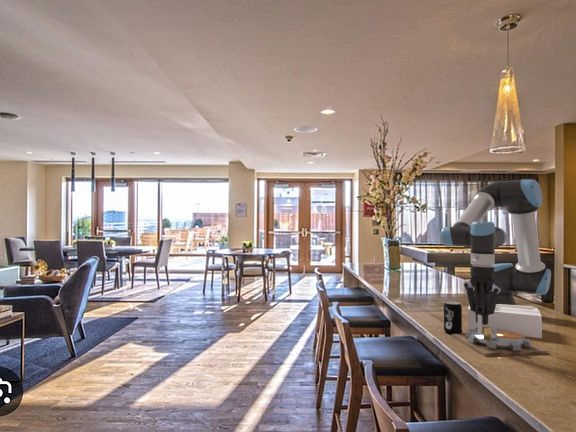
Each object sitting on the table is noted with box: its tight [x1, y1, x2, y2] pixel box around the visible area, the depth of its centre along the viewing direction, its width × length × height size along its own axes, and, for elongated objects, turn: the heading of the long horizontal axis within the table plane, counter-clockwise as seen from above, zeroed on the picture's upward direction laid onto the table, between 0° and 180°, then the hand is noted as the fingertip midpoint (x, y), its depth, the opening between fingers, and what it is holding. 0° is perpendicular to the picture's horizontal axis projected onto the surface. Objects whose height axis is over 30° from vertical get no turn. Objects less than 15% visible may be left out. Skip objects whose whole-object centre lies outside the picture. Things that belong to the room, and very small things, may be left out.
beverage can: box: [443, 300, 463, 335], centre depth 150 cm, size 7×7×12 cm
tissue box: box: [467, 304, 543, 339], centre depth 155 cm, size 14×25×11 cm, turn 62°
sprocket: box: [464, 327, 531, 351], centre depth 135 cm, size 20×20×6 cm
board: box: [451, 333, 549, 357], centre depth 135 cm, size 22×21×1 cm
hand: (481, 333), depth 133 cm, fingers closed
